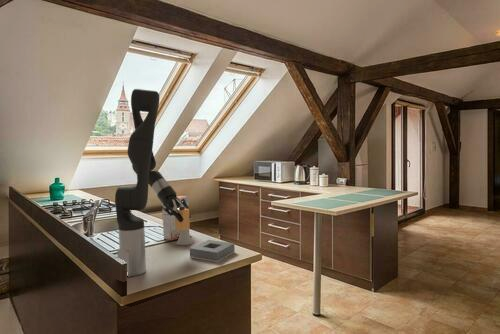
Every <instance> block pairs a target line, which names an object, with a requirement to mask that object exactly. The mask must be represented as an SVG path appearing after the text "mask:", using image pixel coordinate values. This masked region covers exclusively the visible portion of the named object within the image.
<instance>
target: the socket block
mask: <svg viewBox="0 0 500 334" xmlns="http://www.w3.org/2000/svg"><path fill="white" fill-rule="evenodd" d="M234 253H235V243H233V242H227V241H220V240H213V239H212V240H211V239H208V240H207V239H206V240H205V241H202V242H200V243H198V244H196V245H194V246H192V247H190V248H189V258H193V259H197V260H203V261H210V262H214V263H218V262H220V261H222V260H224V259H225V258H228V257H229V256H230V255H232V254H234Z"/></svg>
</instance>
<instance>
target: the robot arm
mask: <svg viewBox="0 0 500 334" xmlns="http://www.w3.org/2000/svg"><path fill="white" fill-rule="evenodd" d="M159 105H160V93H159V92H158V91H156V90H154V89H153V90H151V89H145V88H143V89H142V88H134V89H133V90H132V92H131V95H130V107H131V113H132V120H133V126H134V131H133V132H132V133H131V134H130V137H129V140H128V144H127V156H128V159H129V161H130V163H131V164H132V165H131V168H132V171H133V172H134V173H135V174H136V185H120V186H118V187H117V189H116V190H115V195H114V196H115V197H114V203H115V205H114V206H115V212H116V222H117V225H118V226H117V227H118V244H119V245H118V246H119V248H118V249H117V251H116V252H117V259H118V258H120V259H122V260H124V261H125V262H127V272H128V278H131V276H132V277H136V276H139V275H142V274H144V273H146V272H147V264H146V263H147V262H146V238H145V234H146V233H145V220H144V219H143V218H142V217H138V216H136V215H135V214H133V213H132V211H143V210H145V208H146V207H147V204H148V196H149V186H150V188H151V189H152V191H153V193H154V194H155V195H156V196H157V198H158V200H160V202H161V206H160V208H161V209H164V210H165V211H166V212H167V213H168V214H169V215H170V216H172V215H173V216H175V217H176V218H177V219H178V221H179V222H182V221H183V220H184V218H183V217H182V216H181V215H180V213H178V210H177V209H179V206H185V207H186V208H185V209H189V210H190V208H189V204H188V205H187V203H186V201H185V199H182V200H180V199H179V198H177V192H176V191H175V189H174V188H173V187H172V185H171V184H170V182H169V181H167V180H166V179H165V177H164V176H163V175H162V173H160V171H158V170H154V169H155V168H156V166H157V165H156V164H157V161H156V158H155V156H154V151H153V146H154V135H155V128H156V122H157V117H158V112H159V108H160V107H159ZM141 112H142V113H143V112H144V113H147V114H146V117H145V119H144V120H143V118H142V115H141ZM162 203H163V205H162ZM169 210H170V211H171V212H170V211H169ZM191 218H192V217H191V214H190V213H189V220H190V219H191Z"/></svg>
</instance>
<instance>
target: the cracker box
mask: <svg viewBox="0 0 500 334" xmlns="http://www.w3.org/2000/svg"><path fill="white" fill-rule="evenodd" d="M176 197H177V198H179V199H180V200H182V199H185V201H186V203H187V205H188V206H189V198H188V196H187V195H178V196H177V195H176ZM162 205H163V203H162V202H161V206H162ZM185 208H186V207H185ZM161 209H162V208H161ZM169 211H170V210H169ZM170 212H171V211H170ZM161 213H162V227H163V228H162V229H163V231H162V233H163V240H165V239H169V240H168V241H174V240H177V239H179V238H178V237H179V236H180V233H181V230H177V229H175V216H173V215H172V216H170V215H169V214H168V213H167V212H166V211H165V210H164V209H162V212H161ZM188 233H189V234H190V228H188ZM176 238H177V239H176Z"/></svg>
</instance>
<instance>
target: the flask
mask: <svg viewBox="0 0 500 334" xmlns="http://www.w3.org/2000/svg"><path fill="white" fill-rule="evenodd" d="M177 239H178V240H177V241H176V244H177V245H178V246H189V245H192V244H193V243H194V242H193V240H192V238H191V235H190V232H189V233H188V229H186V230H181V233H180V236H179V238H177Z"/></svg>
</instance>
